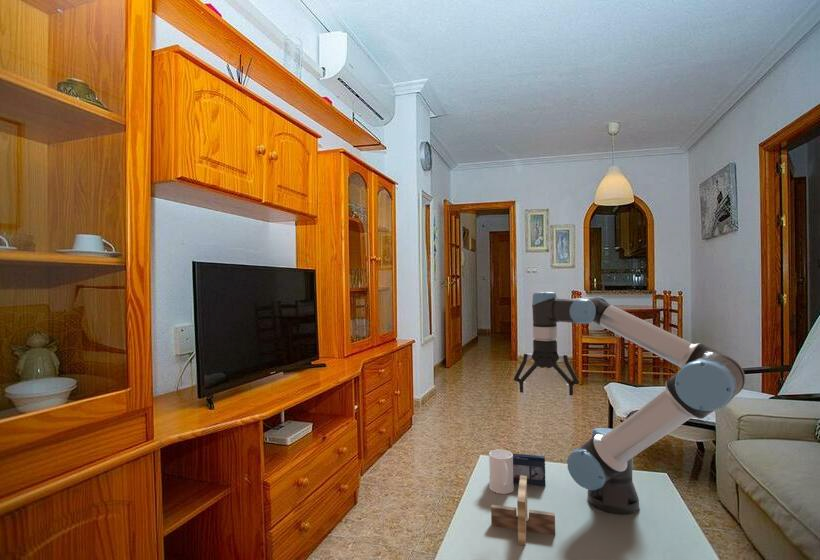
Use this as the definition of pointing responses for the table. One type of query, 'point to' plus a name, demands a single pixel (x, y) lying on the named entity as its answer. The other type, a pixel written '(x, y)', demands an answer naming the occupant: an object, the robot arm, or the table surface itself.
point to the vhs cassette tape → (529, 469)
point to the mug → (501, 471)
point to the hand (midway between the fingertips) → (546, 403)
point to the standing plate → (534, 523)
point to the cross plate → (522, 510)
